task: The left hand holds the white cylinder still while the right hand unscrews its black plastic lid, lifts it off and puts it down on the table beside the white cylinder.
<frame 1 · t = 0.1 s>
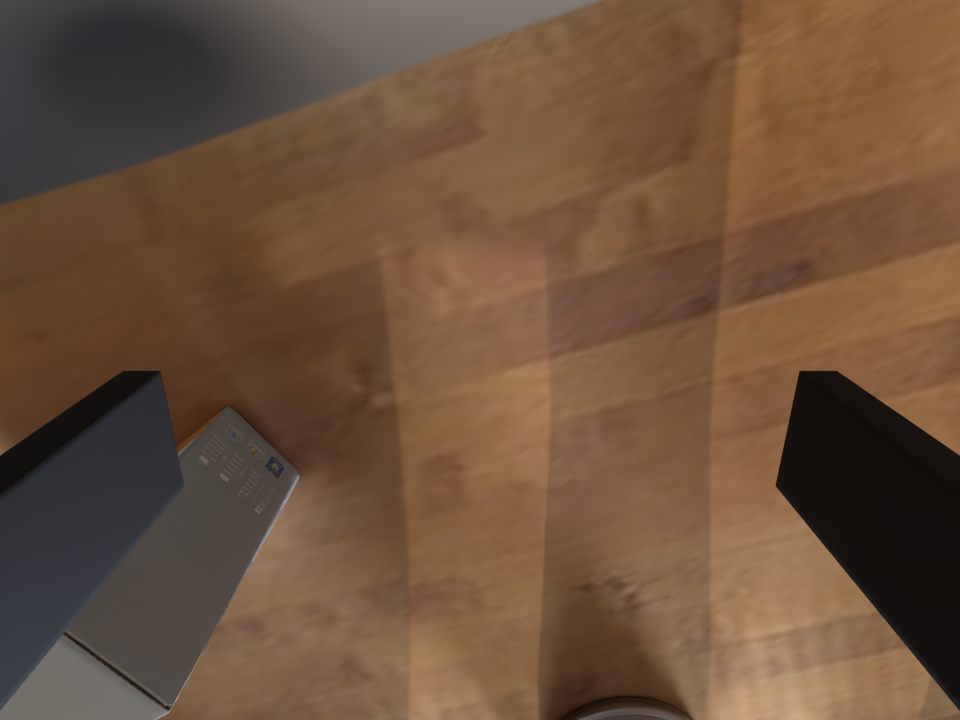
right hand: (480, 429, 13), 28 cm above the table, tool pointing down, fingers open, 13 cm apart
hard drive box: (196, 491, 46), on the table
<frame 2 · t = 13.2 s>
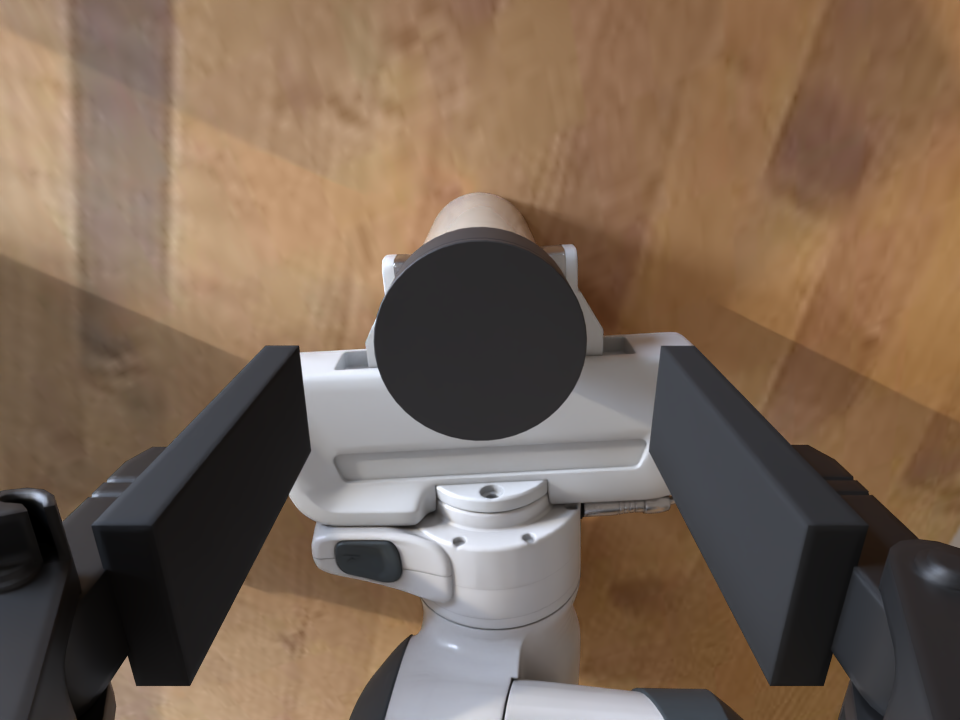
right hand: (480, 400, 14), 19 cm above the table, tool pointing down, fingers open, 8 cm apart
left hand: (478, 251, 26), fingers closed on white cylinder, 5 cm apart
white cylinder: (480, 244, 32), on the table, touching left hand
lid: (480, 343, 18), point 16 cm above the table, screwed on, not yet turned
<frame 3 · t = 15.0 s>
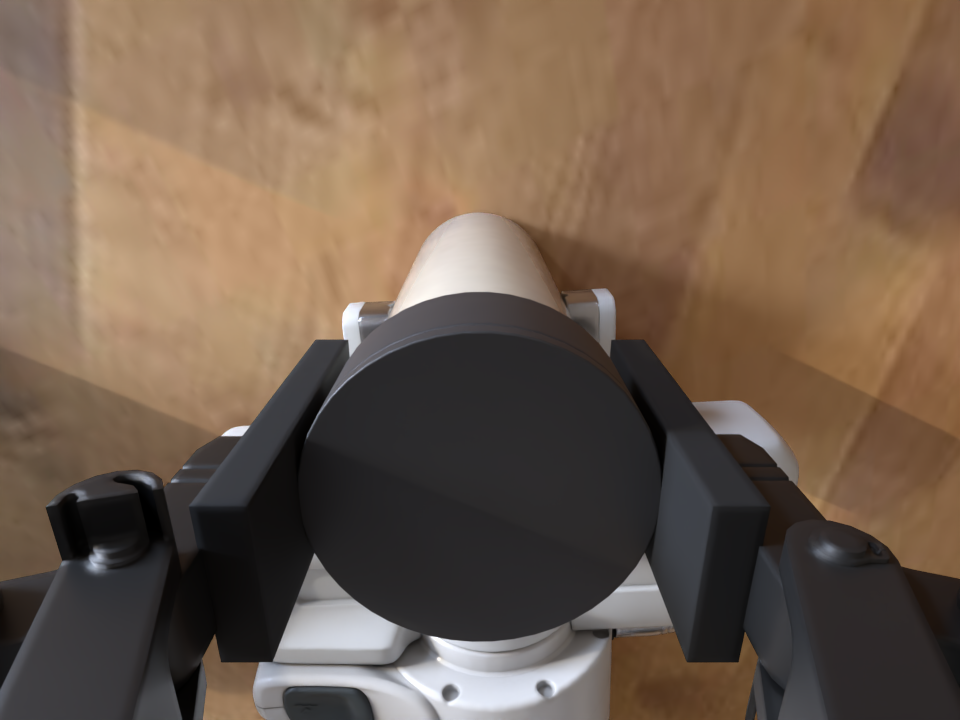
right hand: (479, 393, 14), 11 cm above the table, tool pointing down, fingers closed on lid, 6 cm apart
white cylinder: (479, 279, 25), on the table, touching left hand
lid: (479, 492, 10), point 16 cm above the table, screwed on, not yet turned, touching right hand
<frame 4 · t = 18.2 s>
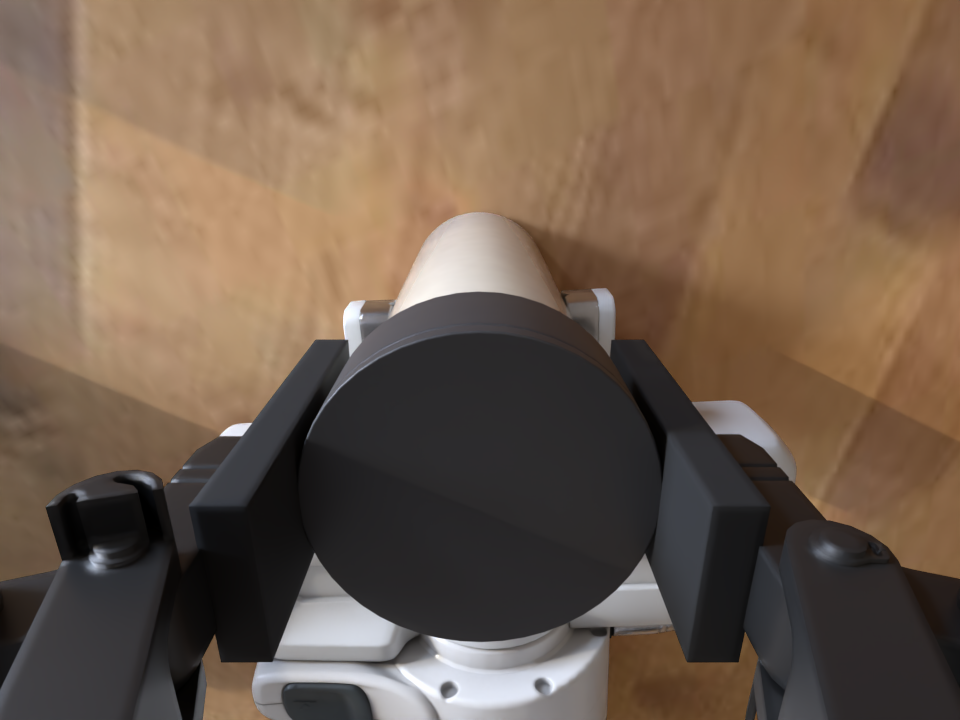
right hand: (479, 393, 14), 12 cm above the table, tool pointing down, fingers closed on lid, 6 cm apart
white cylinder: (479, 278, 25), on the table, touching left hand
lid: (480, 492, 10), point 16 cm above the table, turned 101° so far, risen 0.1 cm, still on its thread, touching right hand
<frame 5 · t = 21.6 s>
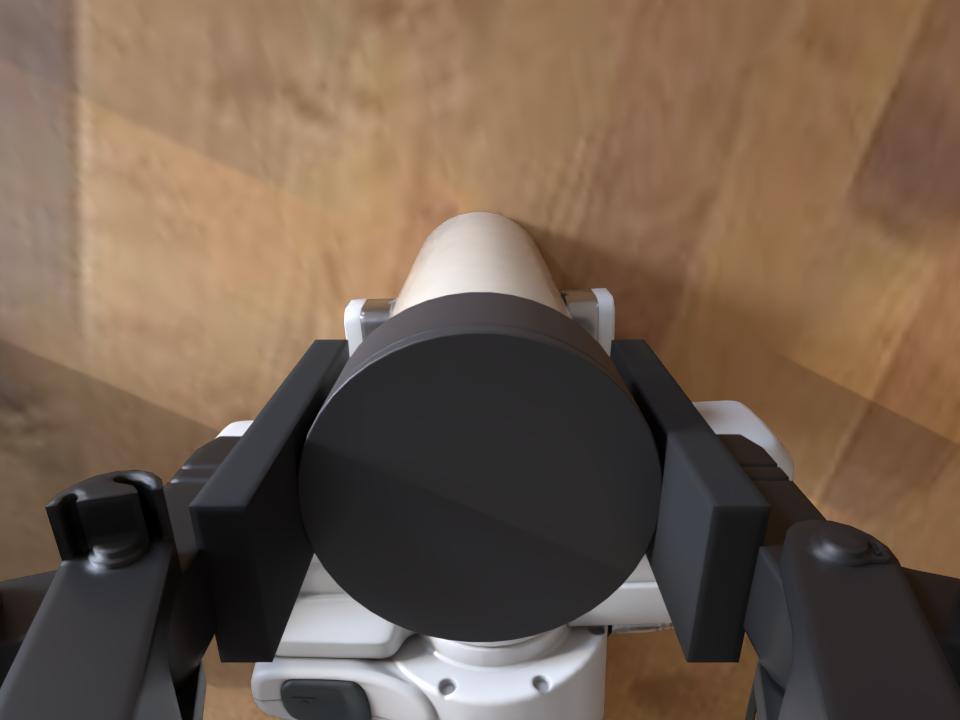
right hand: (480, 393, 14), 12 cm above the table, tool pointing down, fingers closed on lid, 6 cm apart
white cylinder: (479, 277, 25), on the table, touching left hand
lid: (480, 492, 10), point 16 cm above the table, turned 203° so far, risen 0.2 cm, still on its thread, touching right hand
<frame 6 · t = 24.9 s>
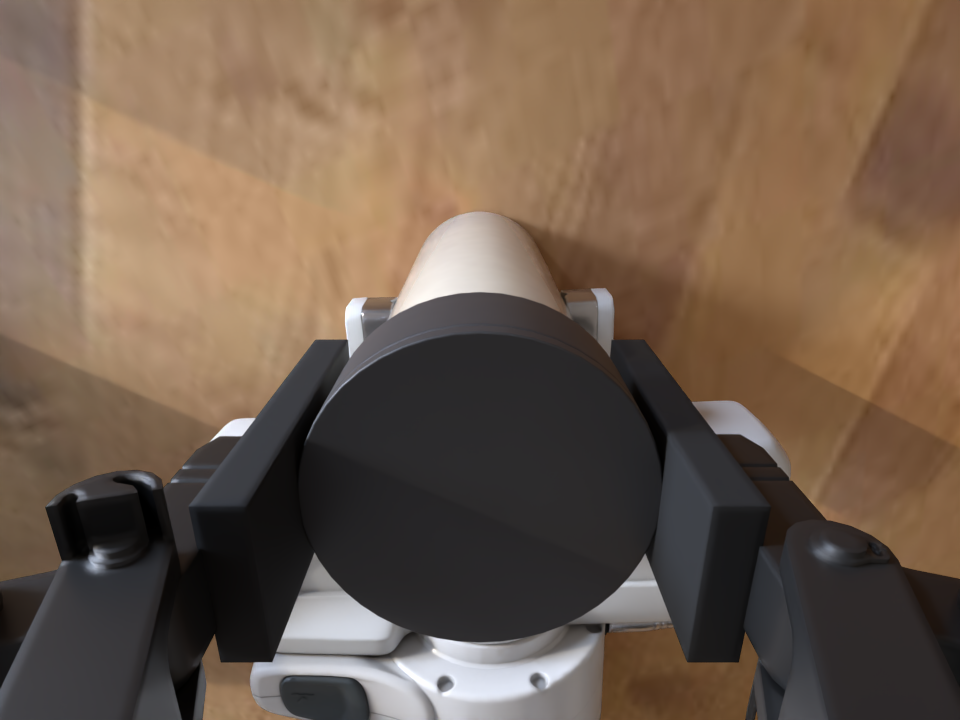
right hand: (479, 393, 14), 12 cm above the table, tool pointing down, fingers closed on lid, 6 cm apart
white cylinder: (480, 277, 25), on the table, touching left hand
lid: (480, 493, 10), point 16 cm above the table, turned 304° so far, risen 0.3 cm, still on its thread, touching right hand
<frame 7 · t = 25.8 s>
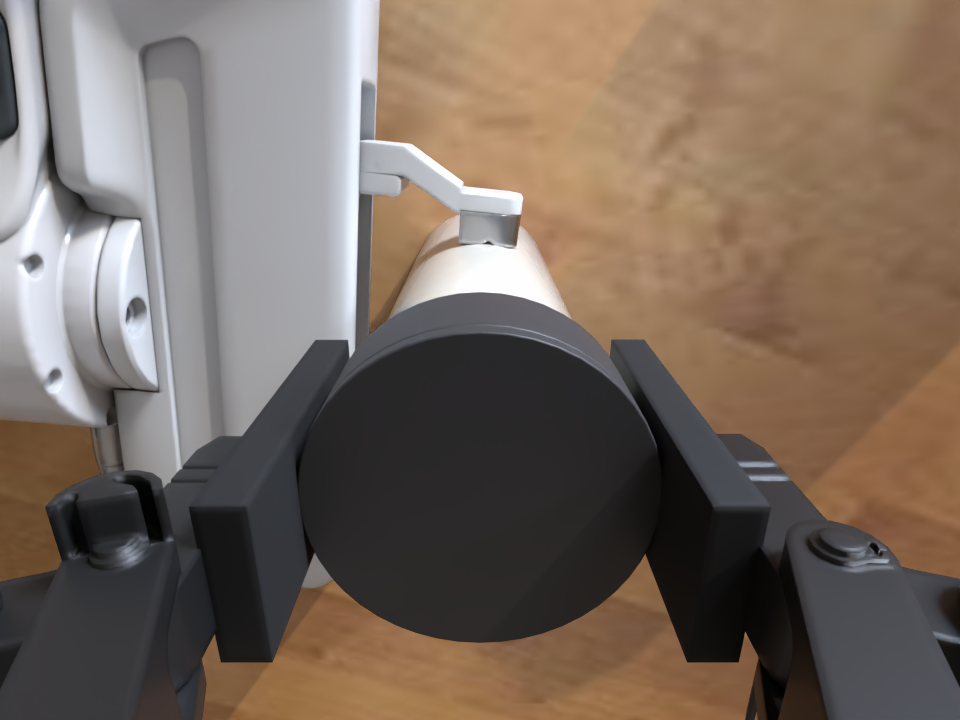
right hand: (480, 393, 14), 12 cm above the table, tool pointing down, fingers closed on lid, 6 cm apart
left hand: (507, 324, 19), fingers closed on white cylinder, 5 cm apart
white cylinder: (479, 277, 25), on the table, touching left hand
lid: (480, 493, 10), point 16 cm above the table, off its thread, touching right hand
when the right hand's fingers open (0 cm above the table, at t = 30.8 s): lid drops 2 cm, point 2 cm above the table.
when the left hand's fingers open (6 cm above the table, at t = 32.0 s): white cylinder stays where it is, on the table.
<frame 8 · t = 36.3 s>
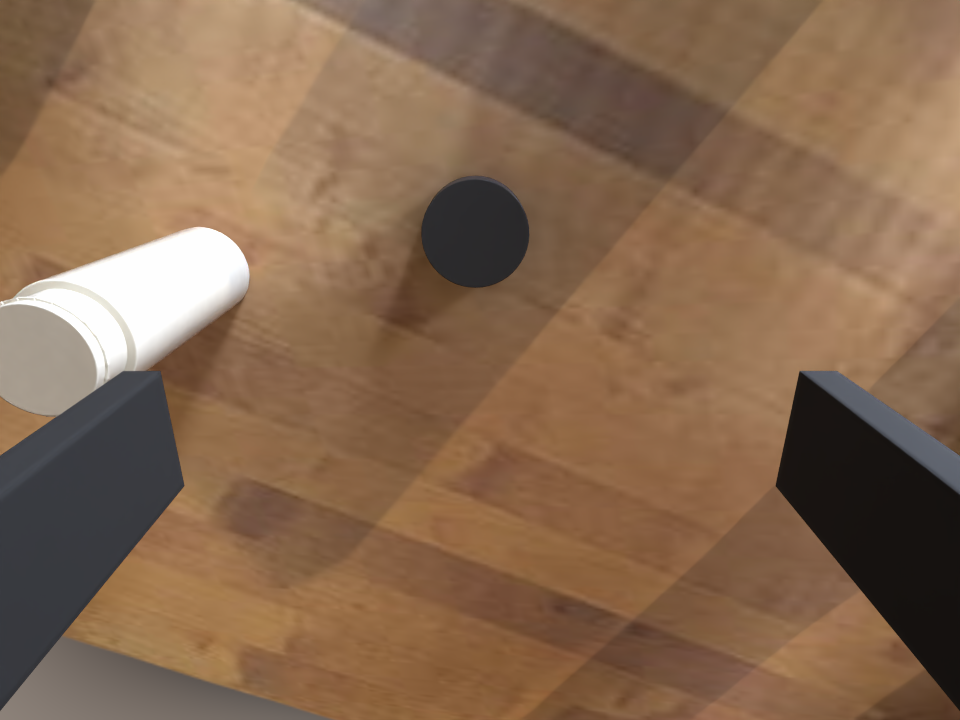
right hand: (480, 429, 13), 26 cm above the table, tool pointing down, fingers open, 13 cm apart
white cylinder: (206, 270, 37), on the table
lid: (475, 234, 35), point 2 cm above the table, off its thread
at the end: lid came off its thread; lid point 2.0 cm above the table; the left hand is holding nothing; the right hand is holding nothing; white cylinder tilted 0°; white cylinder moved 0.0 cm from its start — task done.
